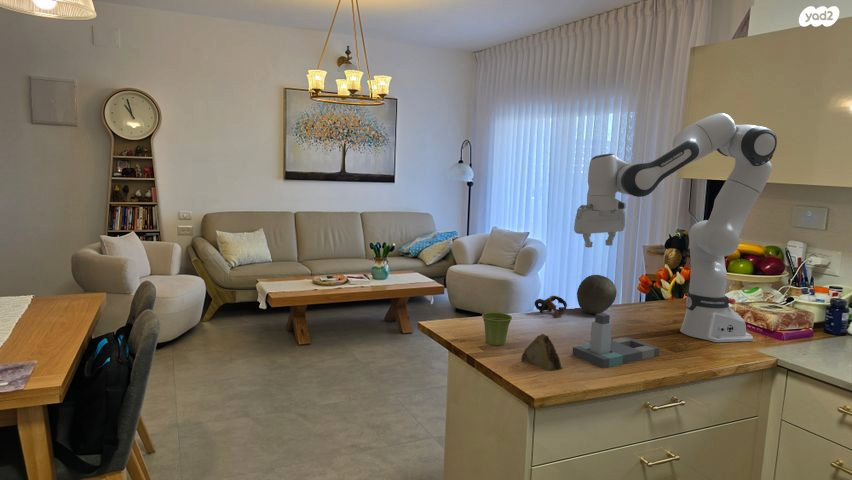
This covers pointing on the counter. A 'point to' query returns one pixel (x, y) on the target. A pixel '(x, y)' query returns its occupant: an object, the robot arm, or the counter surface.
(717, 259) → the robot arm
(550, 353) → the rock
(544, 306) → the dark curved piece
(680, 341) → the counter surface
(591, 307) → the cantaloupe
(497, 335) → the plant pot
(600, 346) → the plug
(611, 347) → the panel
